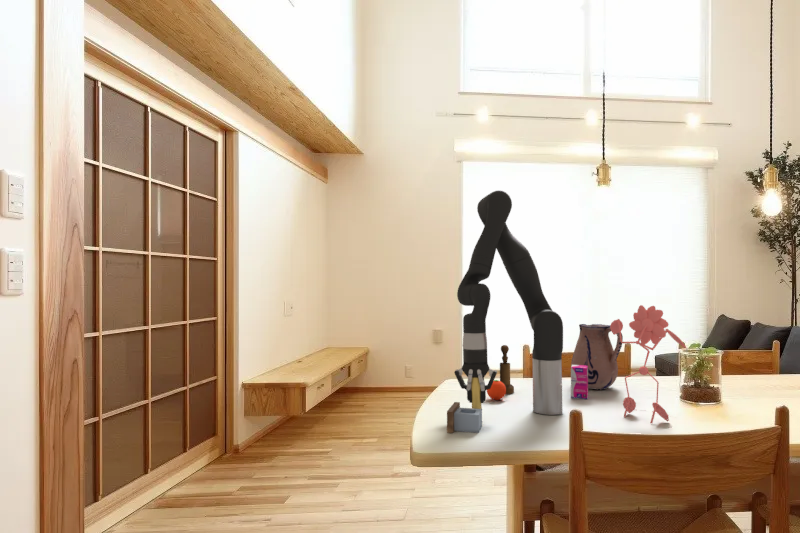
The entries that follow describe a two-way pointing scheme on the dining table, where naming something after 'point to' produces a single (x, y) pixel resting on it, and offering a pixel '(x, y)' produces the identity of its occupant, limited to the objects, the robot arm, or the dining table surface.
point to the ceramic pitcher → (597, 355)
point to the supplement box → (579, 381)
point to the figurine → (646, 329)
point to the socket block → (468, 420)
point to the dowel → (476, 394)
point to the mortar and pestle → (505, 371)
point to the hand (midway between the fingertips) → (476, 402)
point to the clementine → (497, 390)
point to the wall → (451, 417)
